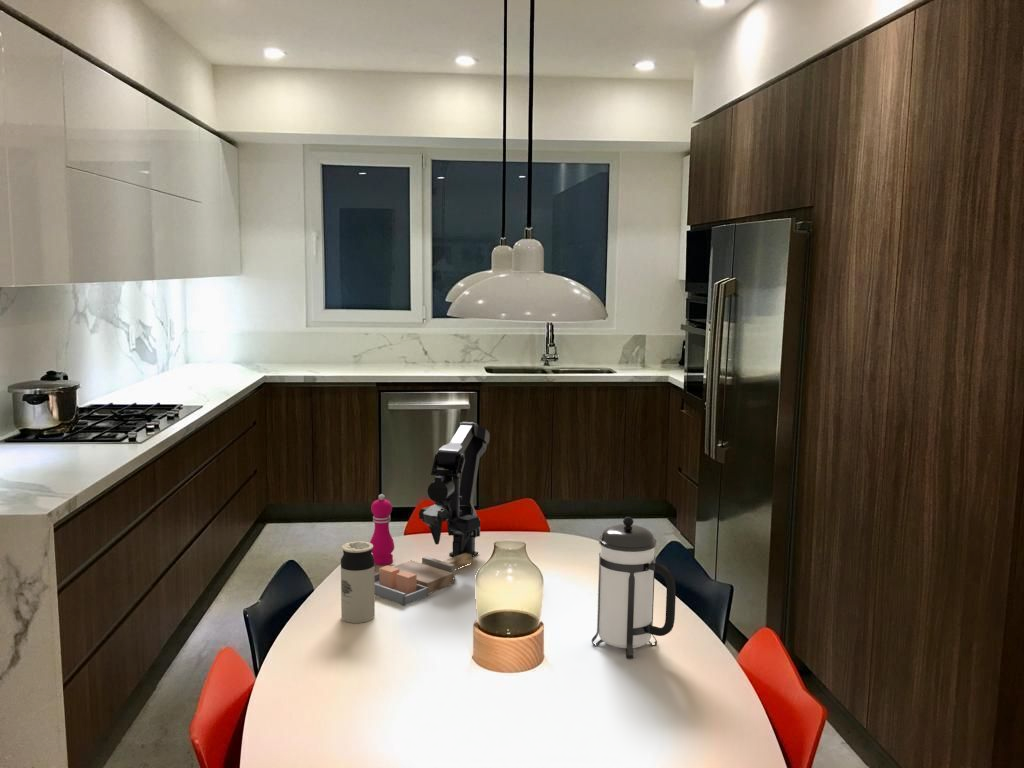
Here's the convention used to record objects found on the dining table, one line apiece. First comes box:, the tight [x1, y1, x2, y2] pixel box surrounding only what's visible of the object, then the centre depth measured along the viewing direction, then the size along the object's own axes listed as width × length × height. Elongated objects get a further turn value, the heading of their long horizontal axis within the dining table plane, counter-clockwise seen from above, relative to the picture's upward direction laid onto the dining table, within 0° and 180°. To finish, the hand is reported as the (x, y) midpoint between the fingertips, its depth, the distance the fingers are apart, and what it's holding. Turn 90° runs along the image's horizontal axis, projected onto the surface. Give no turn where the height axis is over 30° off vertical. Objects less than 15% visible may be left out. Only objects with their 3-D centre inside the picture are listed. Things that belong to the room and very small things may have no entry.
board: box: [393, 559, 454, 594], centre depth 236 cm, size 10×16×3 cm, turn 51°
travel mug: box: [340, 541, 376, 624], centre depth 210 cm, size 8×8×18 cm
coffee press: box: [591, 516, 677, 659], centre depth 196 cm, size 17×16×30 cm
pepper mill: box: [369, 493, 395, 566], centre depth 251 cm, size 7×7×20 cm
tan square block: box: [378, 564, 399, 588], centre depth 232 cm, size 4×4×3 cm
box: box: [374, 572, 430, 607], centre depth 228 cm, size 9×18×3 cm, turn 51°
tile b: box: [396, 571, 417, 594], centre depth 228 cm, size 4×4×3 cm
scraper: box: [421, 553, 473, 579], centre depth 247 cm, size 14×11×4 cm
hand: (448, 547), depth 244 cm, fingers open, 9 cm apart
